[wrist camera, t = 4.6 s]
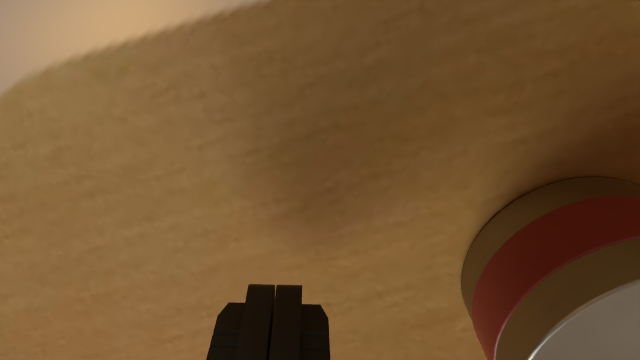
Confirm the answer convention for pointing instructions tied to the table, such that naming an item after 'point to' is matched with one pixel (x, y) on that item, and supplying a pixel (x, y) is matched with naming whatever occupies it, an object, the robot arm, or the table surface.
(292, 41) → the table surface
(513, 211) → the tin can
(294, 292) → the robot arm
